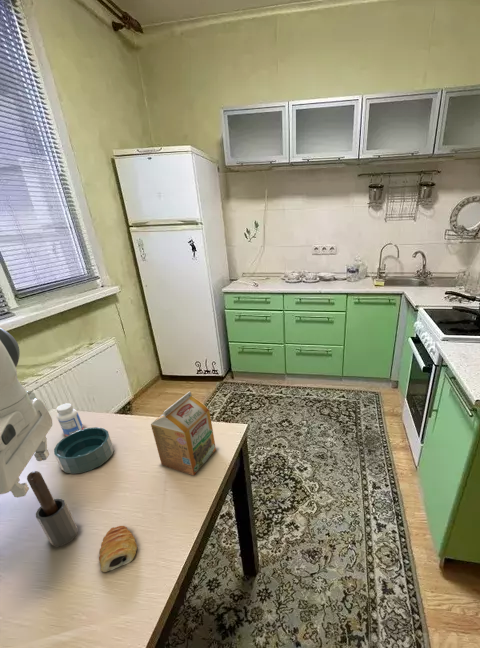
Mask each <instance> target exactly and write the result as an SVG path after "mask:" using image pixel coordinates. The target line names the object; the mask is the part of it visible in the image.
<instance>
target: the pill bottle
mask: <svg viewBox="0 0 480 648" xmlns="http://www.w3.org/2000/svg"><path fill="white" fill-rule="evenodd" d="M55 409H56V410H55V411H56V412H57V415H56V419H57V421H58V423H59V426H60V427H61V430H62V432H63V434H64V436H65V437H66V436H68V435H70V434H72V433H74V432H76V431H79V430H82V429H85V428H84V425H83V422H82V419H81V418H80V415H79V412H78V410H77V409H76V408H74V407H73V404H72V403H67V402H66V403H62V404H60V405H57V407H56V408H55Z"/></svg>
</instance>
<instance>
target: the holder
mask: <svg viewBox="0 0 480 648" xmlns="http://www.w3.org/2000/svg"><path fill="white" fill-rule="evenodd" d="M53 499H54V501H55V503H56V505H57V507H58V509H59V510H58V512H56V513H55V514H53V515H51V516H48V517H47V516H46V514H45V512H44V511H43V509H42V507H41V506H39V508H38V509H37V510H36V512H35V518H36V520H37V522H38V524H39V525H40V528H41V529H42V530H43V533H44V534H45V536H46V538H47V540H48V541H49V543H50V545H51V546H53V547H56V548H57V547H63V546H66V545H67V544H69V543H70V542H72V541H73V540H74V539H75V538H76V536H77V535H78V532H79V529H78V526H77V524H76V522H75V520H74V517H73V515H72V514H71V511H70V509H69V507H68V505H67V503H66V501H65V500H64V499H62V498H53Z"/></svg>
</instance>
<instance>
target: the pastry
mask: <svg viewBox="0 0 480 648" xmlns="http://www.w3.org/2000/svg"><path fill="white" fill-rule="evenodd" d="M137 549H138V544H137V542H136V538H135V536H134V535H133V533H132V532H131V531H130V529H128V527H127V526H125V525H119V526H118V525H117V526H114V527H111V528H110V529H109V530H108V531H107V532H106V534H105V535H104V536H103V538H102V542H101V544H100V548H99V552H98V554H99V557H98V561H99V562H98V563H99V565H100V571H101V572H102V573H107V572H109V571H113V570H114V569H117V568H120V567H121V566H124V565H127V564H130V563H131V562H132V561H133V560H134V559H135V557H136V553H137Z"/></svg>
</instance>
